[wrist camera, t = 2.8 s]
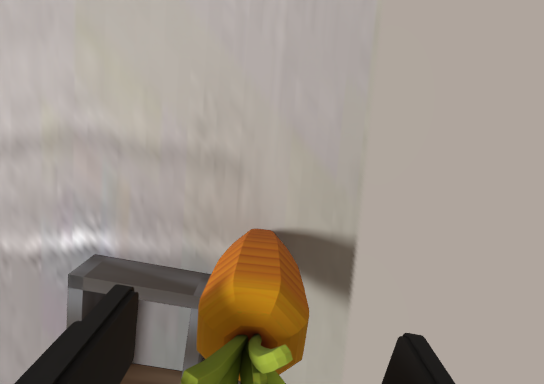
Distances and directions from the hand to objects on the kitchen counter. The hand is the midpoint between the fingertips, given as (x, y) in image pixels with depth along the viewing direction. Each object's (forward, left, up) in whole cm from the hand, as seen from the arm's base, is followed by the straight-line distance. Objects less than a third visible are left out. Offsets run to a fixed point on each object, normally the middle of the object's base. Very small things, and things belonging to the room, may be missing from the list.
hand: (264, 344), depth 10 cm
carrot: (-1, 0, -12) cm, 12 cm away
